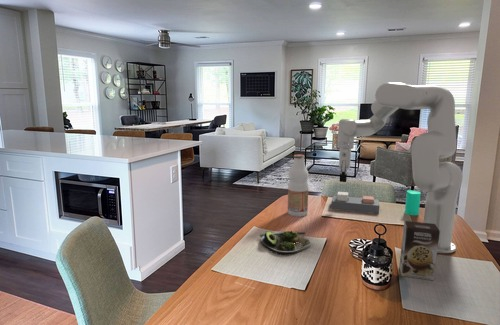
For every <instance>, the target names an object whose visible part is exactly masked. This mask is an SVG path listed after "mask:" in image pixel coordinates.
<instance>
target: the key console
mask: <svg viewBox="0 0 500 325" xmlns="http://www.w3.org/2000/svg"><path fill="white" fill-rule="evenodd" d="M379 200H380V199H377V198H374V204H371V203H362V202H363V197H356V196H355V197H353V196H348V201H339V200H337V195H332V198H331V202H330V203H331V206H330V208H331V210H336V209H338V210H339V211H346V210H347V211H349V212H356V211H357V212H358V213H369V214H377V215H378V214H380V207H381V206H380V201H379ZM357 212H356V213H357Z"/></svg>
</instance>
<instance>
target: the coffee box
mask: <svg viewBox="0 0 500 325" xmlns="http://www.w3.org/2000/svg"><path fill="white" fill-rule="evenodd" d="M402 230H403V231H402V239H401V249H400V255H399V256H400V257H399V266H398V267H399V271H400V275H401V276H402V277H409V278H413V277H414V279H415V278H416V279H420V278H421V279H422V280H428V281H434V280H435V272H436V266H437V265H436V263H437V256H438V253H437V250H438V242H439V234H440V230H439V229H438V227H437V226H436V225H435V224H431V223H423V221H422V222H421V221H411V220H410V221H409V220H404V223H403V229H402Z"/></svg>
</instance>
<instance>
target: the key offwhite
mask: <svg viewBox="0 0 500 325" xmlns="http://www.w3.org/2000/svg"><path fill="white" fill-rule="evenodd" d="M336 196H337V200H339V201H348V197H349V192H347V191H338V192H337V195H336Z"/></svg>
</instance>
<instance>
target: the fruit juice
mask: <svg viewBox="0 0 500 325" xmlns="http://www.w3.org/2000/svg"><path fill="white" fill-rule="evenodd" d="M293 159H294V160H293V163H292V166H291V168H290V169H289V171H288V178H289V180H288V185H287V214H288V215H289V216H292V217H305V216H307V215H308V212H309V211H308V210H309V209H308V208H309V182H308V179H309V176H310V175H309V171H308V168H307V167H306V163H305V154H294V155H293Z"/></svg>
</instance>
